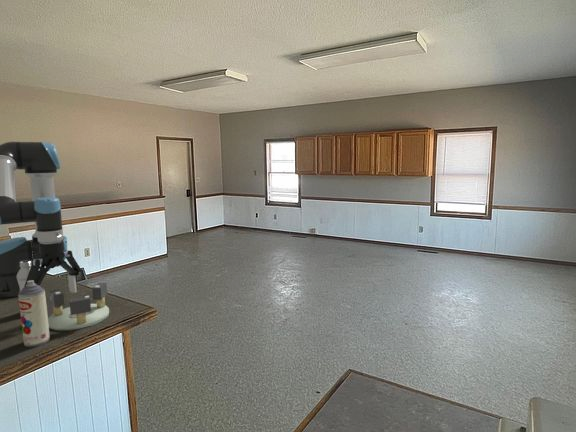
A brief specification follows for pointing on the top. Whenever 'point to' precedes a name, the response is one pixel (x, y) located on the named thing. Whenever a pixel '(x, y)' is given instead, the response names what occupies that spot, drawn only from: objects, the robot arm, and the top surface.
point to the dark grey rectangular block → (57, 301)
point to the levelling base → (70, 321)
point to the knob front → (80, 308)
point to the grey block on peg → (100, 294)
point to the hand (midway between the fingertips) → (56, 298)
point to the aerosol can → (34, 315)
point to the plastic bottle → (23, 273)
